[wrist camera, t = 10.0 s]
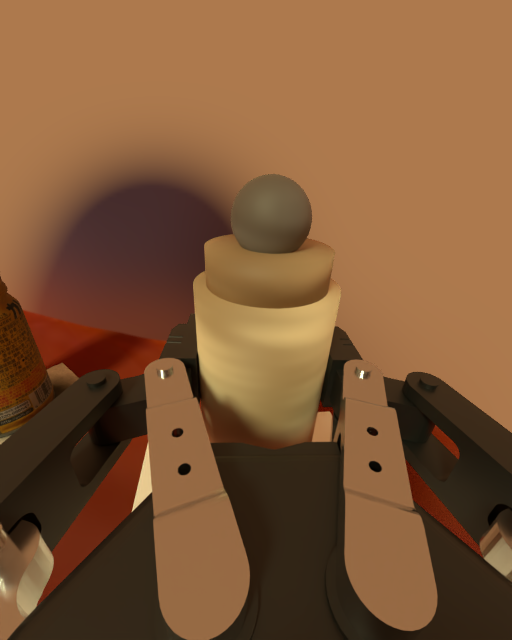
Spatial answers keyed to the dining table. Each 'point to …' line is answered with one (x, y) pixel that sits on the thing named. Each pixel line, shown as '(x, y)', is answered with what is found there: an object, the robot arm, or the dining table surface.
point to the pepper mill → (265, 319)
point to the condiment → (23, 370)
